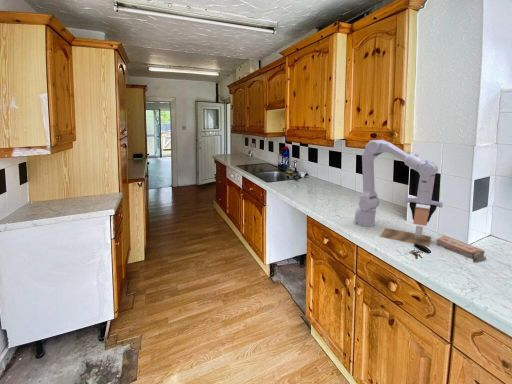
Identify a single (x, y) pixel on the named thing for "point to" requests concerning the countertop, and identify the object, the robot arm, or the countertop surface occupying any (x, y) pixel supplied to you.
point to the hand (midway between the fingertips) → (420, 220)
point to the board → (405, 237)
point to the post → (418, 233)
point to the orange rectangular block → (421, 216)
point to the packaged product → (461, 248)
